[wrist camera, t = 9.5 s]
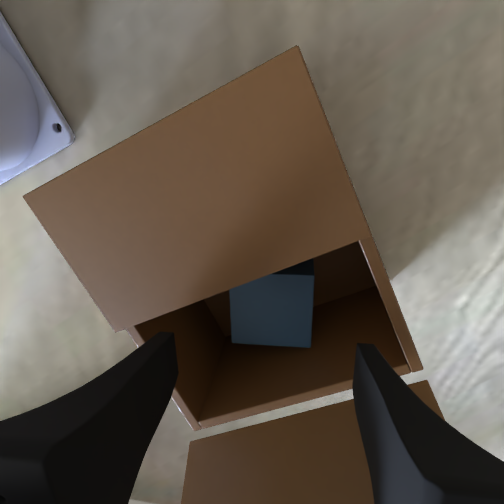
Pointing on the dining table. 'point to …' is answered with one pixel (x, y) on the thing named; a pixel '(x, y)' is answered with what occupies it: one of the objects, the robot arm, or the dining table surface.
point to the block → (275, 308)
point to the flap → (287, 460)
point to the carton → (230, 242)
